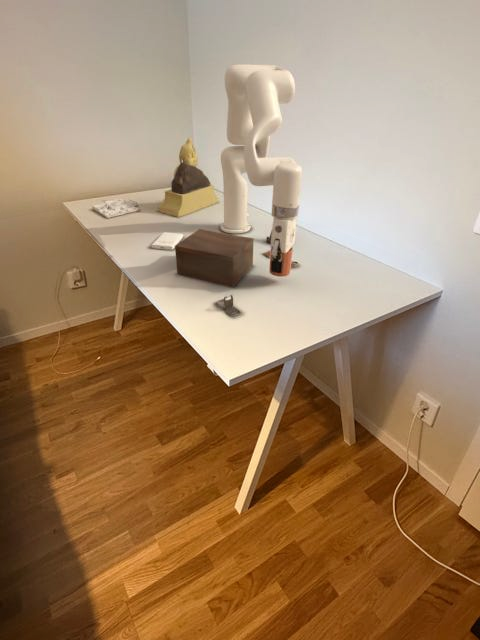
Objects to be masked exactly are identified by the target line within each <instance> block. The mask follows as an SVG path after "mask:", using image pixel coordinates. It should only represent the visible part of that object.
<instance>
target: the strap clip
mask: <svg viewBox="0 0 480 640" xmlns="http://www.w3.org/2000/svg"><path fill="white" fill-rule="evenodd" d="M229 297H230V298H229ZM227 298H229V299H227ZM215 302H216V305H217V306H218V307H219V308H220V309H222V310H225V312H226V313H227V314H228V315H229V316H232V317H236V316H238V315H240V314H241V310H239V309H238V308H236V307H234V296H233V294H229V295H226V296H224V297H223V298H222V299H219V300H217V301H215Z"/></svg>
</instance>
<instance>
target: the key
mask: <svg viewBox="0 0 480 640" xmlns="http://www.w3.org/2000/svg"><path fill="white" fill-rule="evenodd" d="M270 252H271V250H269V251H266V252H263V255H264V256H266V257H267V258H270ZM298 266H299V262H298V261H292V262H291V268H295V267H298Z"/></svg>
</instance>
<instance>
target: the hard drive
mask: <svg viewBox="0 0 480 640" xmlns="http://www.w3.org/2000/svg"><path fill="white" fill-rule="evenodd" d="M183 238H184V233H177V232H167V231H166V232H165V231H164V232H162V233H161V234H160V235H159V236H158V237H157V238H156V240H154V241H153V243H151V249H155V250H156V249H157V250H166V251H173V250H175V245H177V244H178V243H180V242H181V241H182V240H183Z"/></svg>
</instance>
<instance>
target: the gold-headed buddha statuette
mask: <svg viewBox="0 0 480 640" xmlns="http://www.w3.org/2000/svg"><path fill="white" fill-rule="evenodd" d="M193 143H194V140H193V138H192V137H188V138H187V139H186V142H185V143H184V144H183V145H181V147H180V150H179V152H178V153H179V154H178V160H179V164H178V165H177V166H176V168H175V169H174V172H173V179H172V181H171V182H170V183H171V189H168V190H165V191H164V198H163V200H162V202H161V203H160V204H159V206H157V212H159V213H162V214H166V215H170V216H173V217H177V218H180V217H183V216H186V215H187V214H190V213H193V212H196V211H199V210H202V209H203V208H206V207H209V206H212V205H214V204H217V203H219V197H218V196H217V195H216V193H215V189H214V184H211V181H210V180H209V177H208V176H207V175H206V174H204V171H203V170H201V169H199V168H198V166H199V165H198V163H199V162H198V161H199V156H198V154H197V151H196V147H195V146H194V144H193Z"/></svg>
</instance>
